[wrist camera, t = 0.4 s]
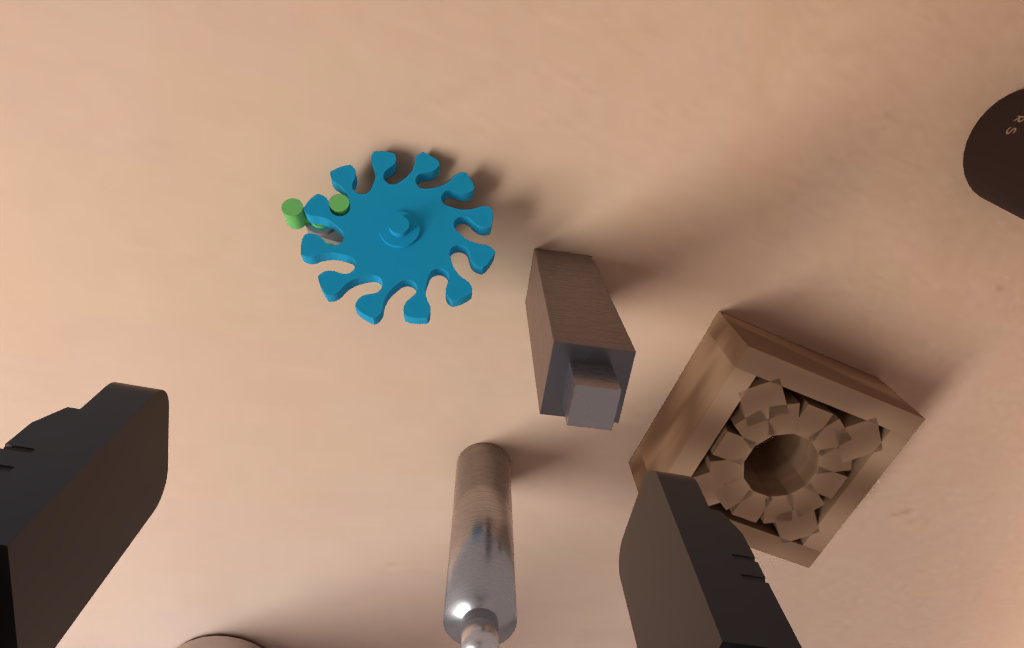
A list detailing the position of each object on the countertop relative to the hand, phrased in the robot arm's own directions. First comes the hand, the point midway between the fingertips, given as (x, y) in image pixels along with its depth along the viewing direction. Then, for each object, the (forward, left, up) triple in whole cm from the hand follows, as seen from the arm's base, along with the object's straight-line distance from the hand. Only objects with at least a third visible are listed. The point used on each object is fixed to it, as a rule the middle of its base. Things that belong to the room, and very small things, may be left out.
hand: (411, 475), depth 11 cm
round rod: (-18, -8, -28) cm, 34 cm away
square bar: (-4, -7, -28) cm, 29 cm away
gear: (-4, +3, -28) cm, 28 cm away
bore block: (-8, -23, -28) cm, 37 cm away
